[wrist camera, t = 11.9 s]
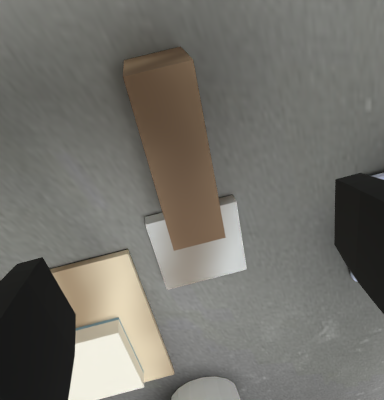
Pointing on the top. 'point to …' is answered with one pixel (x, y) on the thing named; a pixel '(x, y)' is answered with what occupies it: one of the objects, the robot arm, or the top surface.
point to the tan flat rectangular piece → (116, 305)
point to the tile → (104, 362)
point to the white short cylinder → (207, 390)
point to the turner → (182, 172)
